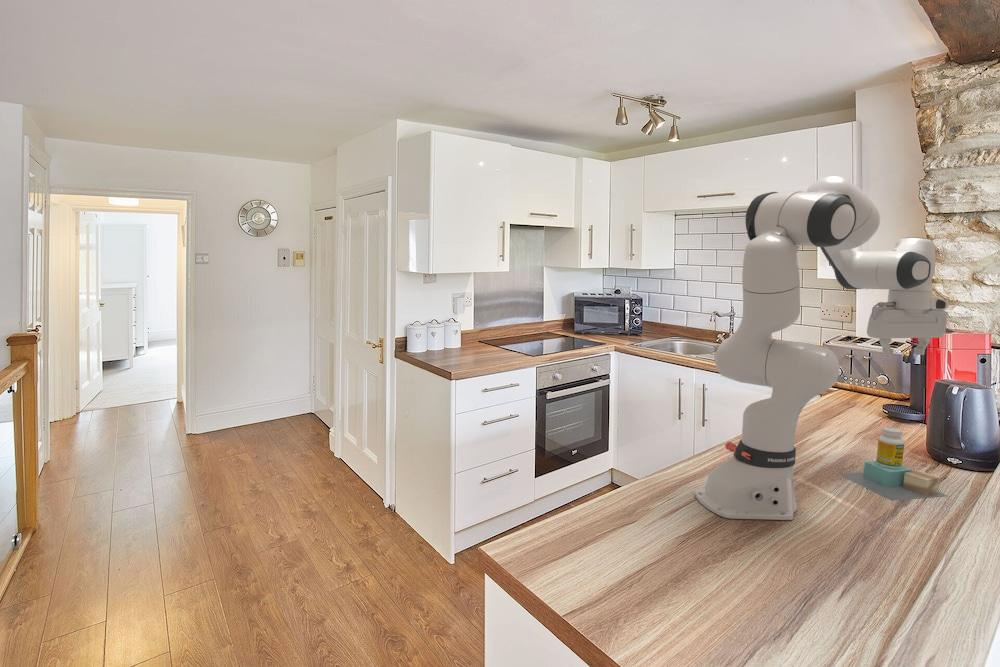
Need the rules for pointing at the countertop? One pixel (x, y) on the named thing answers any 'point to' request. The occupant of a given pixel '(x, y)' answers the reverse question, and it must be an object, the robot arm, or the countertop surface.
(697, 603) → the countertop surface
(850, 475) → the plate
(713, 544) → the countertop surface
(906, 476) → the brick
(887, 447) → the supplement bottle
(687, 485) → the countertop surface
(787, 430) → the robot arm
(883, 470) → the base brick
